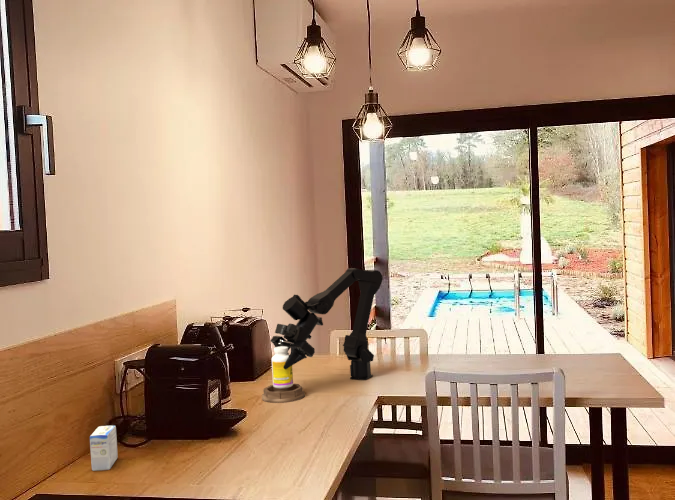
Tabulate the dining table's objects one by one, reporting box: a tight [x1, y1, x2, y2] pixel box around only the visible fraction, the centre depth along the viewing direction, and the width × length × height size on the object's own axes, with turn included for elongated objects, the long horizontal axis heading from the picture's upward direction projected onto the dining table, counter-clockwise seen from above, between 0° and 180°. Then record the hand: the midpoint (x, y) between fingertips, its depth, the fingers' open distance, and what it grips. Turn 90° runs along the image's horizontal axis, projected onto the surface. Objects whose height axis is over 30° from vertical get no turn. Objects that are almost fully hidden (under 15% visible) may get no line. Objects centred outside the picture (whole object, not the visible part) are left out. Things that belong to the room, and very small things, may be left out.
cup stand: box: [261, 383, 305, 404], centre depth 222 cm, size 14×14×3 cm
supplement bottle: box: [271, 346, 294, 389], centre depth 221 cm, size 7×7×13 cm
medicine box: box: [89, 425, 118, 472], centre depth 166 cm, size 8×4×9 cm, turn 5°
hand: (278, 367), depth 220 cm, fingers closed on supplement bottle, 6 cm apart
